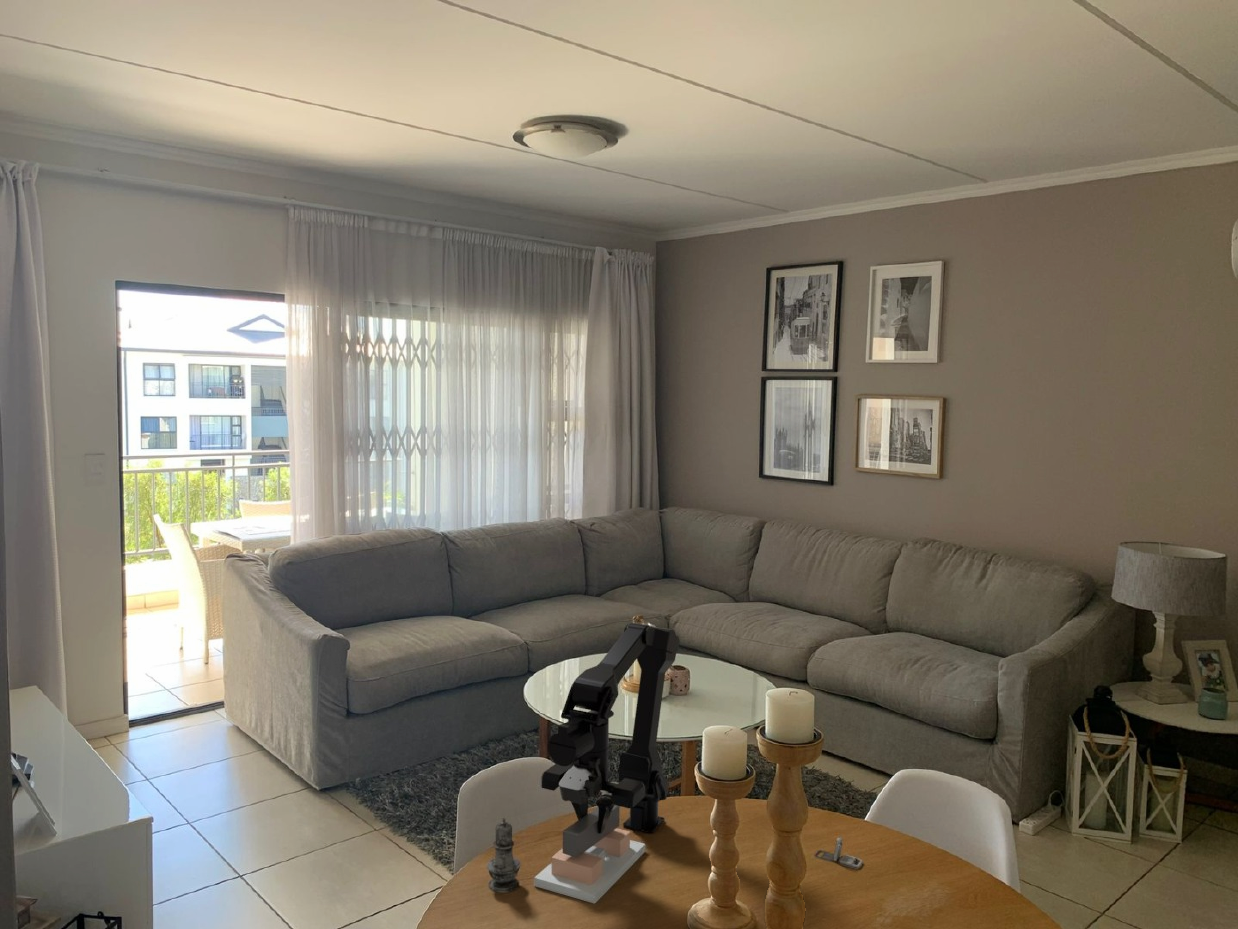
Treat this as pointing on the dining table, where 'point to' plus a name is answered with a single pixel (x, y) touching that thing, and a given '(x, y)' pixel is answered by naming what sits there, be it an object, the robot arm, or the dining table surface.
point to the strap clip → (843, 860)
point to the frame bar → (588, 832)
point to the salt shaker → (503, 861)
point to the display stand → (591, 867)
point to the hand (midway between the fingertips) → (592, 830)
